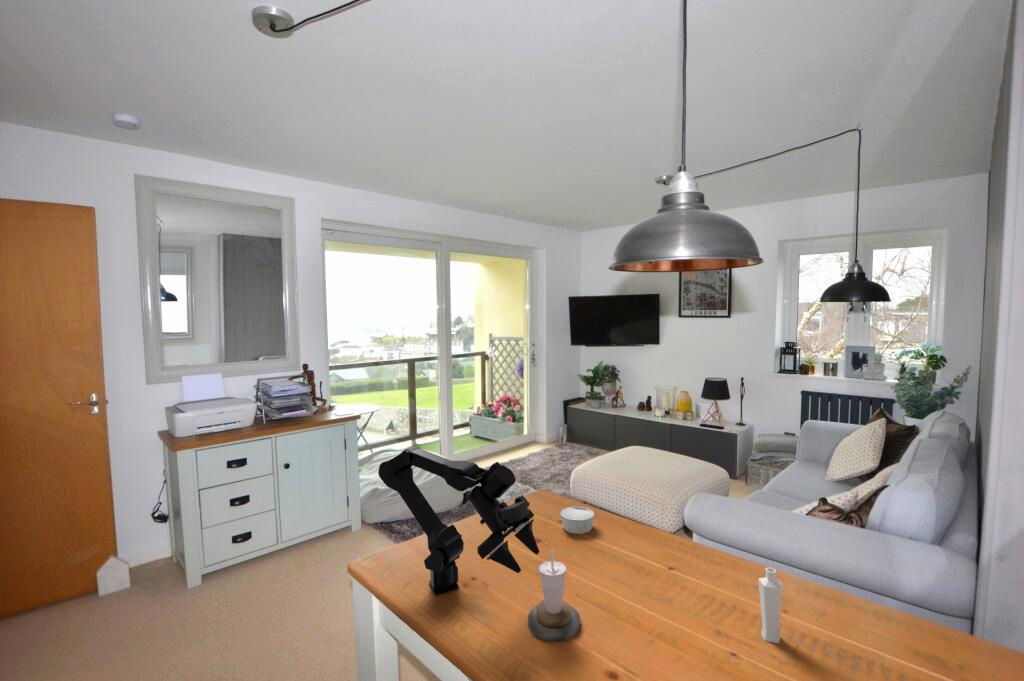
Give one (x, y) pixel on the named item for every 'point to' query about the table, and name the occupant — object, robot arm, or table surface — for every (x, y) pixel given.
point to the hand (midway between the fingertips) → (529, 562)
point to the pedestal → (554, 622)
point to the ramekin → (577, 519)
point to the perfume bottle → (770, 605)
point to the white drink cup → (552, 584)
